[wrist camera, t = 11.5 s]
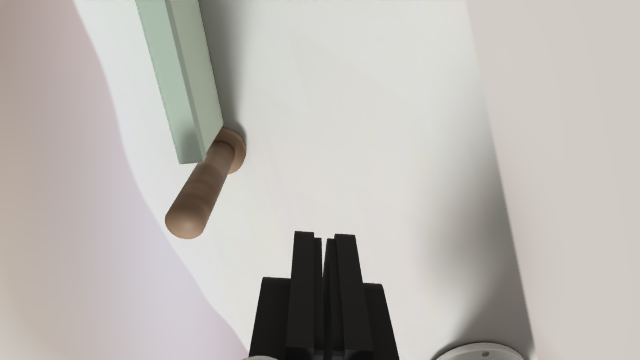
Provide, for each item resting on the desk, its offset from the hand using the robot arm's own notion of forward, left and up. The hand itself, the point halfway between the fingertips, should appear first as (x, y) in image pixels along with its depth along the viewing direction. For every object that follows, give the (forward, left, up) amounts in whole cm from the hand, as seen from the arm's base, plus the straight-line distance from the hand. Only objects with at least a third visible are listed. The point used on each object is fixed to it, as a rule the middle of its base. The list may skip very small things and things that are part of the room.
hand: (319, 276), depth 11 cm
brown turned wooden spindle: (-6, +8, -24) cm, 26 cm away
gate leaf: (+4, +9, -24) cm, 26 cm away
